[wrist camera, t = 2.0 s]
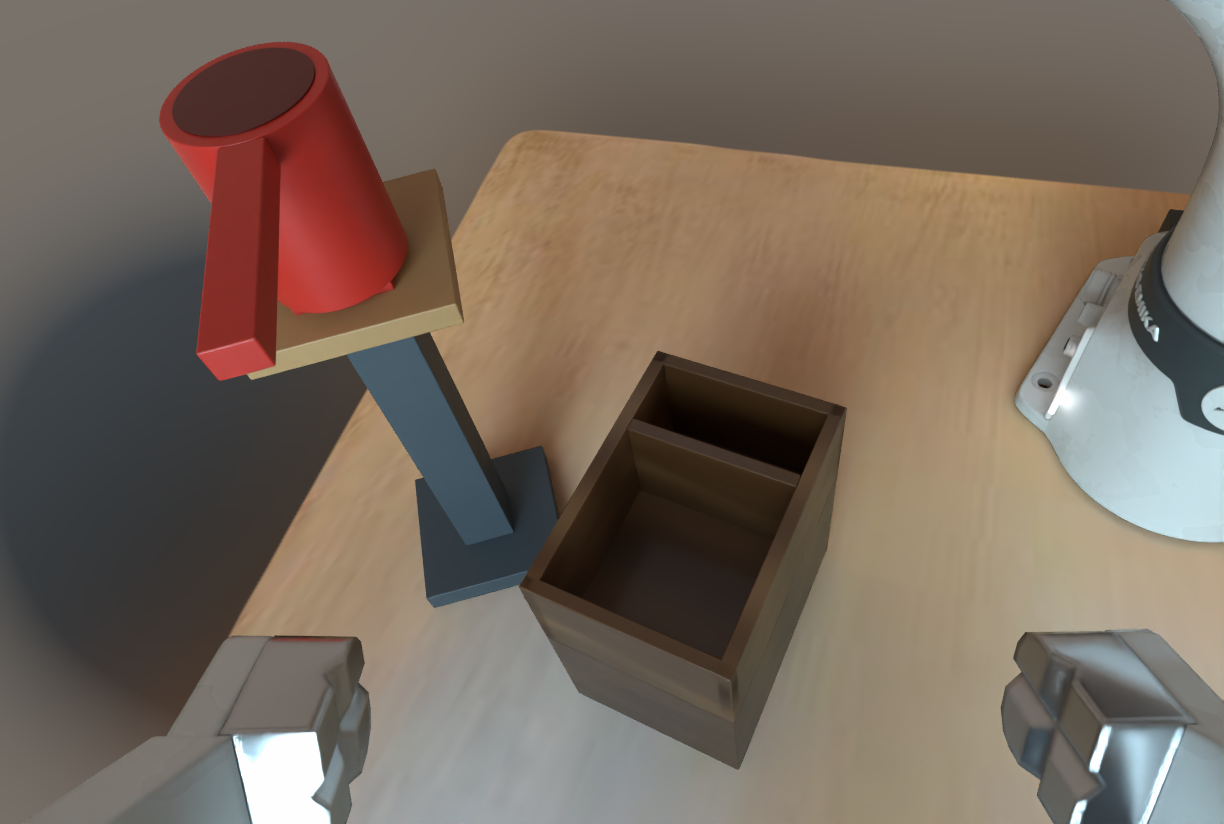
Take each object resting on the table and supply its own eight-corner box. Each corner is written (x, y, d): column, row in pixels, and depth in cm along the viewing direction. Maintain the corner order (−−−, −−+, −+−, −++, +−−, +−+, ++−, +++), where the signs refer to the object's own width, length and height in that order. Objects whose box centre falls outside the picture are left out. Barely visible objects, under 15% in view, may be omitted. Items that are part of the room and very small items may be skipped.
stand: (422, 490, 59) (245, 217, 39) (546, 456, 59) (435, 167, 39) (433, 608, 53) (236, 362, 33) (570, 570, 53) (456, 303, 33)
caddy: (679, 494, 56) (657, 350, 44) (827, 548, 52) (847, 407, 40) (578, 692, 49) (518, 586, 37) (738, 770, 45) (730, 681, 33)
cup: (276, 240, 37) (166, 65, 30) (407, 205, 37) (326, 23, 31) (267, 529, 28) (109, 374, 22) (439, 483, 28) (337, 314, 22)
